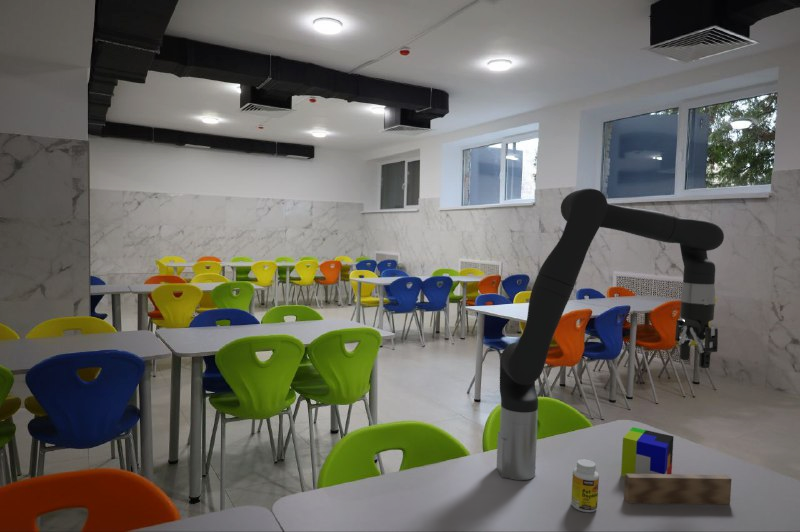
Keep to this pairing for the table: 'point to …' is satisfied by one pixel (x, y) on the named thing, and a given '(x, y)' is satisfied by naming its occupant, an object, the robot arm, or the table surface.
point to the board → (677, 488)
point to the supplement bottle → (585, 486)
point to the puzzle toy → (646, 452)
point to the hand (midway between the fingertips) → (694, 363)
